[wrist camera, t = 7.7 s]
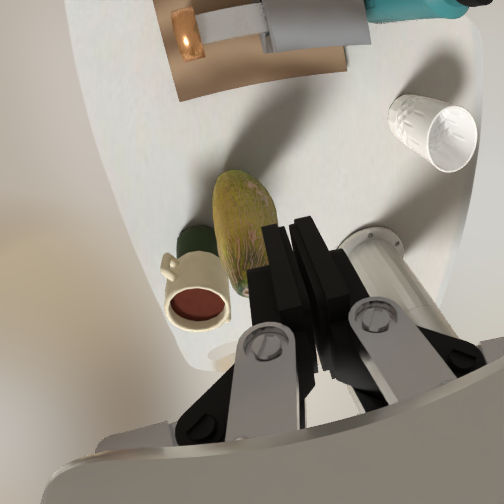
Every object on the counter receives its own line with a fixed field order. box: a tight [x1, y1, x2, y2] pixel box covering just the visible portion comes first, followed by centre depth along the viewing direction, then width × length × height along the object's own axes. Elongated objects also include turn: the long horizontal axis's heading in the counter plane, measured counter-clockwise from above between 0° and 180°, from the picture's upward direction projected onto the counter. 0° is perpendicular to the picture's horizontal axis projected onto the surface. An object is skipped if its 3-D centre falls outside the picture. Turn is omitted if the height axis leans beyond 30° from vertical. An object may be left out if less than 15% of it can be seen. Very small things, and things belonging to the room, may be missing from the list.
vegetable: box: [212, 170, 279, 297], centre depth 30 cm, size 6×6×20 cm
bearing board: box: [153, 0, 371, 102], centre depth 24 cm, size 14×19×9 cm
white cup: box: [388, 94, 477, 173], centre depth 32 cm, size 8×8×10 cm
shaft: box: [171, 2, 269, 63], centre depth 24 cm, size 6×16×6 cm, turn 102°
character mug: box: [160, 226, 231, 332], centre depth 38 cm, size 11×7×13 cm, turn 38°
